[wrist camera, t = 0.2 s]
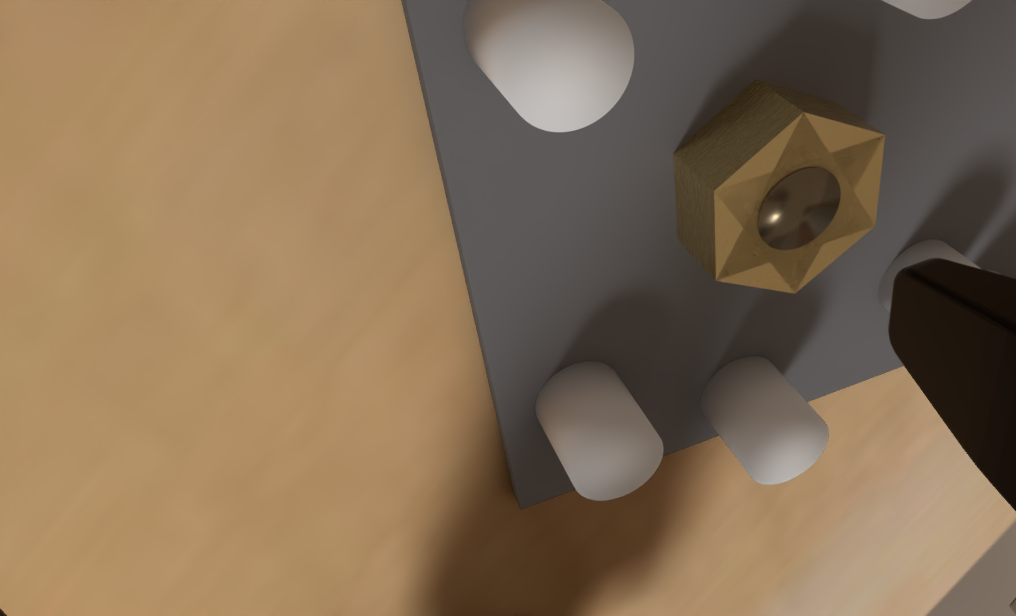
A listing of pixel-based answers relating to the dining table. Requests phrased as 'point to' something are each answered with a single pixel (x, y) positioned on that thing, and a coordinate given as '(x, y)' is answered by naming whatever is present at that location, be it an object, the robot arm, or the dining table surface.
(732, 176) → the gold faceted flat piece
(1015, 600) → the stack of blocks
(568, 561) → the dining table surface
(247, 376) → the dining table surface
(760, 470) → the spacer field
